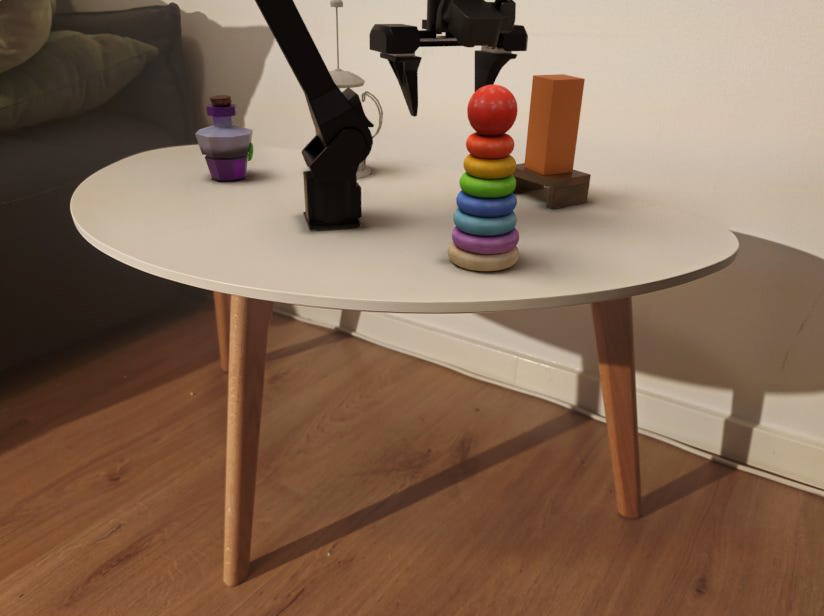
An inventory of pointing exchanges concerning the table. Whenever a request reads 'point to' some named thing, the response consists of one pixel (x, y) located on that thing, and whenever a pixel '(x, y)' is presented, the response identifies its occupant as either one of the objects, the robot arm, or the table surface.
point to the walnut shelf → (554, 186)
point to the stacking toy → (487, 186)
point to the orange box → (553, 123)
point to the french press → (351, 80)
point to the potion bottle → (225, 142)
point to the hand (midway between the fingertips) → (447, 114)
